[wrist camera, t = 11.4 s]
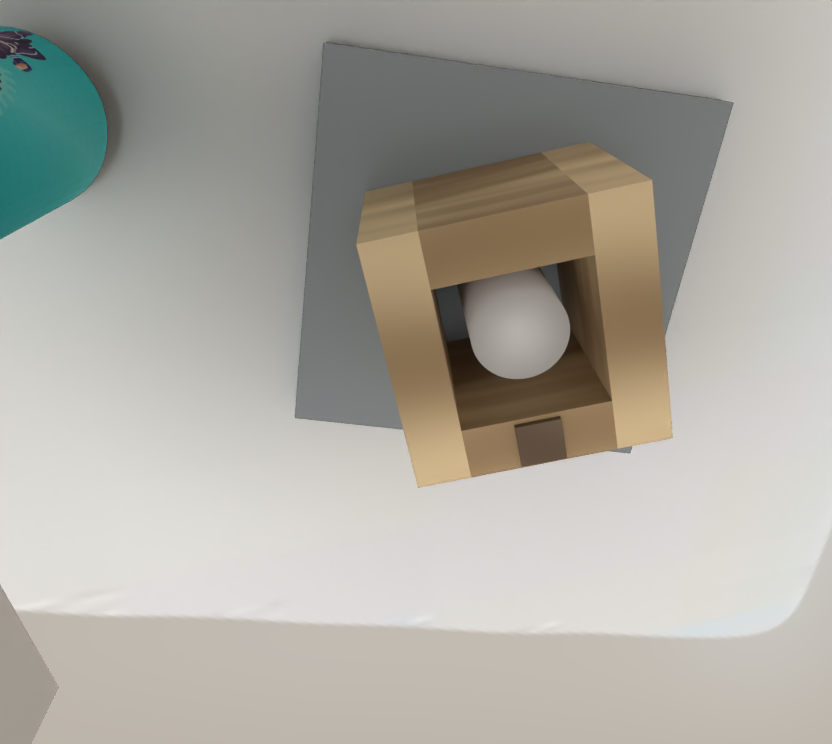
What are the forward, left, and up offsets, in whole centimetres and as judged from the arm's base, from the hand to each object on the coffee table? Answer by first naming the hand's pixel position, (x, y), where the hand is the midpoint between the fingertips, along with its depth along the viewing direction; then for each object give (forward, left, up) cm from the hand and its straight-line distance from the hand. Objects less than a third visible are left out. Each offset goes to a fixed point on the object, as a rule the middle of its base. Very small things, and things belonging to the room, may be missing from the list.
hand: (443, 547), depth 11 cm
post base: (+1, +3, -19) cm, 20 cm away
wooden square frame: (+1, +3, -18) cm, 18 cm away
